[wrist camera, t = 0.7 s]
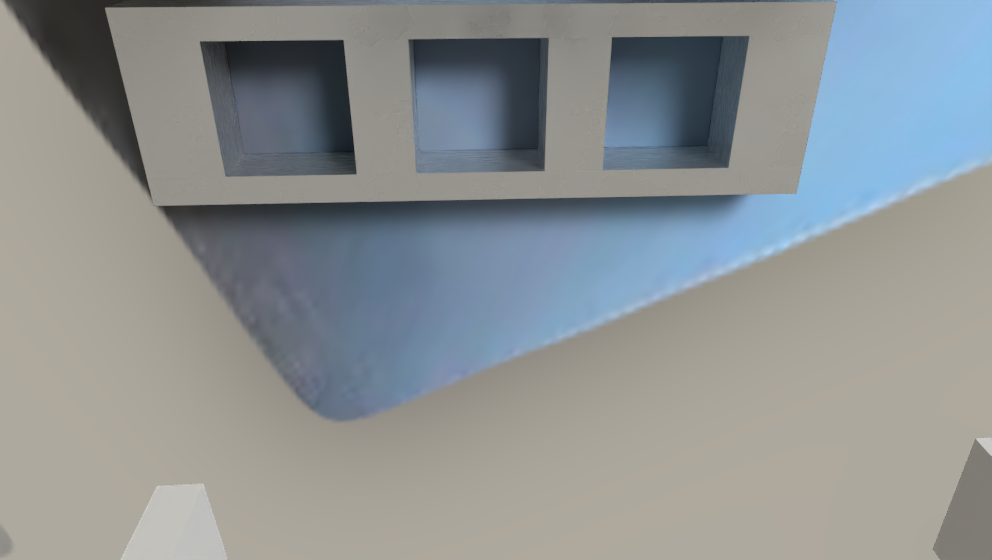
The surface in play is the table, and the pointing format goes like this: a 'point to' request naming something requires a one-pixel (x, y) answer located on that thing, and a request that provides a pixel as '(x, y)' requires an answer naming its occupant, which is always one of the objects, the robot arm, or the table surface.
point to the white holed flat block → (467, 173)
